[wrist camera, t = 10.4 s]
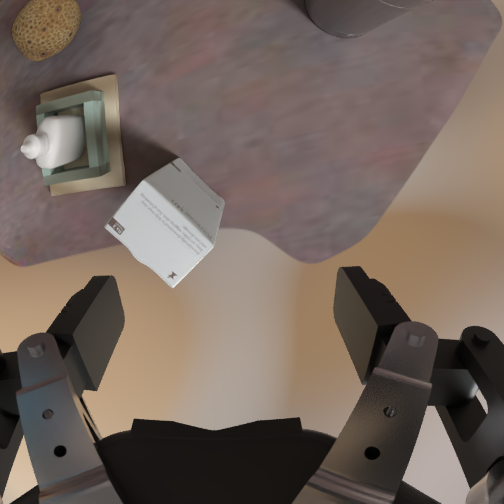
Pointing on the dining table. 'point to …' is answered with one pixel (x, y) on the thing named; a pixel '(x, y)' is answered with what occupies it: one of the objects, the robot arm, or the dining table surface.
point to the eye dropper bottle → (56, 141)
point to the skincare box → (169, 221)
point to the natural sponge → (45, 27)
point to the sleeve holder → (87, 135)
